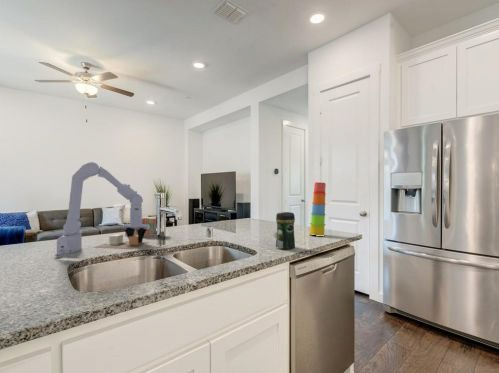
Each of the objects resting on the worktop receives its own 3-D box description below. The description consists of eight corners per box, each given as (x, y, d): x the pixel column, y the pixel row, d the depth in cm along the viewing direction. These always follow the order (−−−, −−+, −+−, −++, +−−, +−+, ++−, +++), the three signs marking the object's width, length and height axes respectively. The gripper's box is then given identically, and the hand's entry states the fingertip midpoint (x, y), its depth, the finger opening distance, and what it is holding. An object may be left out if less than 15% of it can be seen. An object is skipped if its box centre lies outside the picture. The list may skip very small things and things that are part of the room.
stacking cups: (315, 233, 172) (315, 182, 172) (328, 235, 164) (328, 182, 164) (305, 235, 166) (306, 182, 166) (319, 237, 158) (319, 182, 158)
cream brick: (117, 243, 132) (117, 236, 132) (109, 243, 133) (109, 235, 133) (122, 242, 137) (122, 234, 137) (115, 241, 137) (115, 234, 137)
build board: (132, 251, 122) (132, 248, 122) (93, 249, 126) (93, 246, 126) (149, 244, 137) (149, 241, 137) (114, 242, 140) (114, 240, 140)
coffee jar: (287, 245, 138) (287, 211, 138) (297, 248, 131) (297, 212, 131) (273, 247, 132) (273, 212, 132) (283, 250, 126) (283, 213, 126)
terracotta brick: (137, 244, 132) (137, 236, 132) (129, 244, 133) (129, 236, 133) (142, 242, 136) (142, 235, 136) (134, 242, 137) (134, 234, 137)
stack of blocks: (124, 237, 154) (124, 217, 154) (130, 235, 161) (130, 216, 161) (158, 238, 152) (158, 218, 152) (163, 236, 159) (163, 217, 158)
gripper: (152, 216, 137) (152, 241, 137) (128, 215, 140) (128, 240, 140) (145, 217, 130) (145, 244, 130) (119, 217, 133) (119, 242, 133)
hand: (135, 242), depth 135 cm, fingers closed on terracotta brick, 5 cm apart
